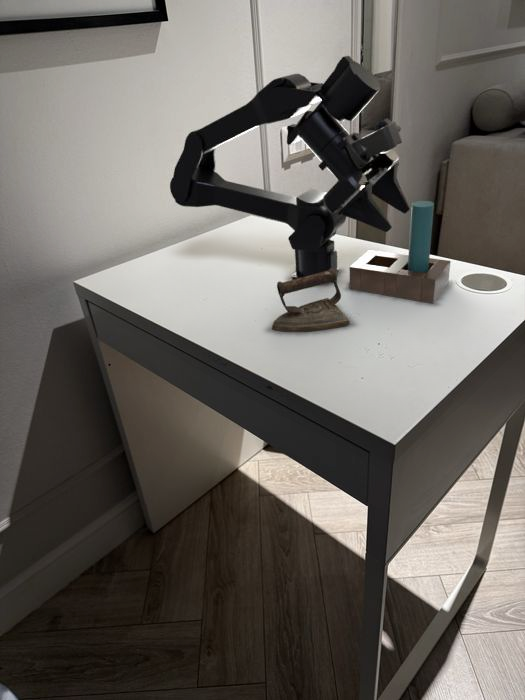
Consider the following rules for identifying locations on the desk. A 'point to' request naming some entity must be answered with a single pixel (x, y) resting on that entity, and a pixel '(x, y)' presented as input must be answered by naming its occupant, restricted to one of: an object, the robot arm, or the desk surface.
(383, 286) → the peg block
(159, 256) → the desk surface
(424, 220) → the peg
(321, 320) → the clothes iron
